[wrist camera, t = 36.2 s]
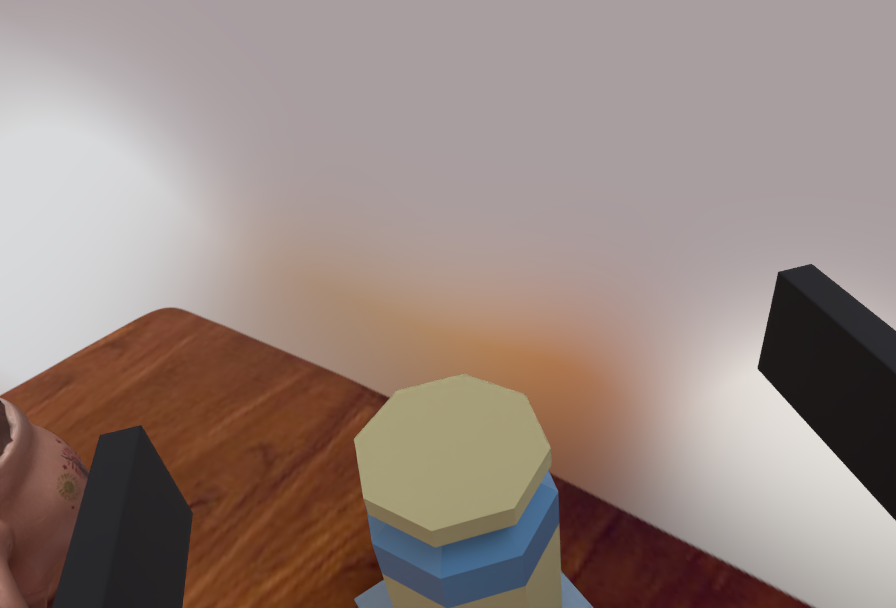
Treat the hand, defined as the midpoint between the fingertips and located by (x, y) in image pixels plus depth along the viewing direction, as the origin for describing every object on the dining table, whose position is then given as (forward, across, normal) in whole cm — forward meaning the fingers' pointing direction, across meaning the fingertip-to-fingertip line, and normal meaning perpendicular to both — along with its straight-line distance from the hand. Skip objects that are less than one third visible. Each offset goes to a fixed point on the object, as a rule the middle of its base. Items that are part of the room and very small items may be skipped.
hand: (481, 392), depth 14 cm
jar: (+10, 0, -27) cm, 29 cm away
